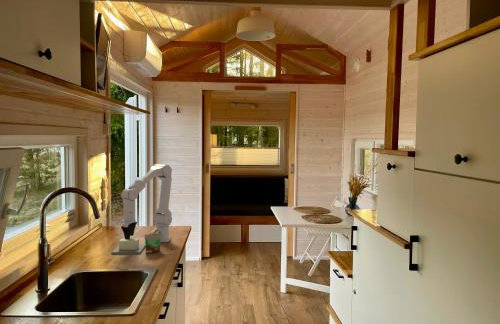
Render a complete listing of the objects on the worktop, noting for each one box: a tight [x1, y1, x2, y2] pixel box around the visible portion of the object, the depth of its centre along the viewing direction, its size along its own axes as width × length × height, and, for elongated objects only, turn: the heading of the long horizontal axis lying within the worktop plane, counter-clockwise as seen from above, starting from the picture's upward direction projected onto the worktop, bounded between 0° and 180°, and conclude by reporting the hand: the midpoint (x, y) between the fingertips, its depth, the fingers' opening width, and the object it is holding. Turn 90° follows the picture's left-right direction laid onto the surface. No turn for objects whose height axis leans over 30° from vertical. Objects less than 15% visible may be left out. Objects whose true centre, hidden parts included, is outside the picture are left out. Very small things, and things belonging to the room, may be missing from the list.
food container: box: [144, 229, 162, 255], centre depth 192 cm, size 12×6×10 cm, turn 168°
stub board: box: [111, 244, 146, 255], centre depth 193 cm, size 14×14×3 cm
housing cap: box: [118, 238, 140, 250], centre depth 193 cm, size 5×9×4 cm, turn 94°
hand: (129, 237), depth 193 cm, fingers open, 7 cm apart
